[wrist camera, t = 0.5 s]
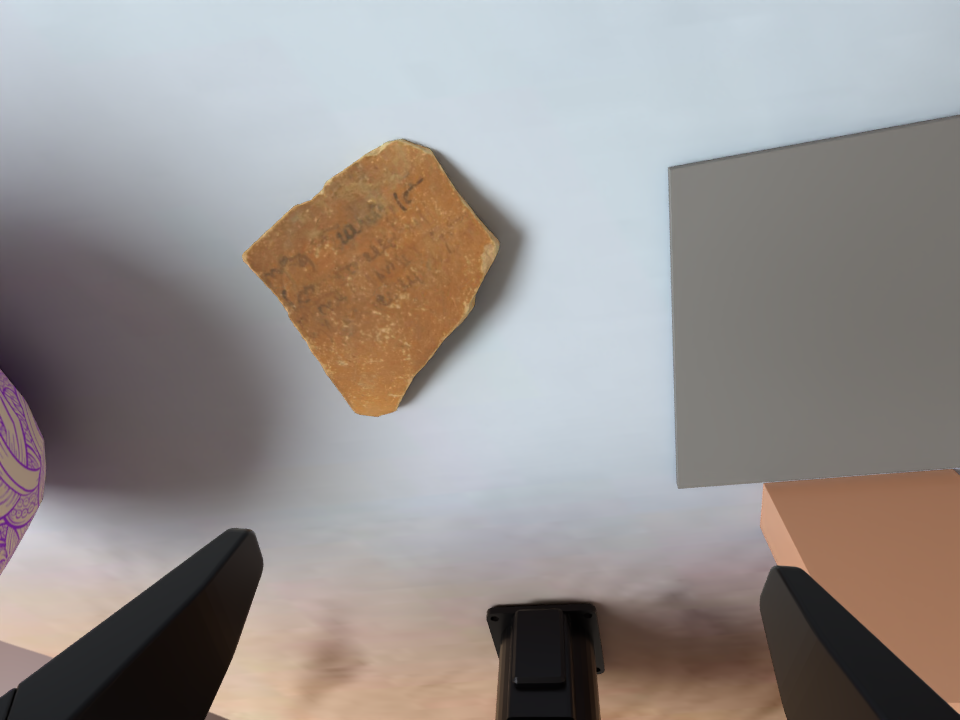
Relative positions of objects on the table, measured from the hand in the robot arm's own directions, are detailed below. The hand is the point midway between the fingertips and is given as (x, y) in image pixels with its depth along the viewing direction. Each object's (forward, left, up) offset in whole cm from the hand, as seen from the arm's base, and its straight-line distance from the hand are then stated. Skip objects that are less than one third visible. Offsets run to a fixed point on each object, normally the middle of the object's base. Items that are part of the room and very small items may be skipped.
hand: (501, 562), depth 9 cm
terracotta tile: (-14, -14, -14) cm, 24 cm away
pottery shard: (0, +5, -15) cm, 16 cm away
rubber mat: (-5, -14, -14) cm, 20 cm away
